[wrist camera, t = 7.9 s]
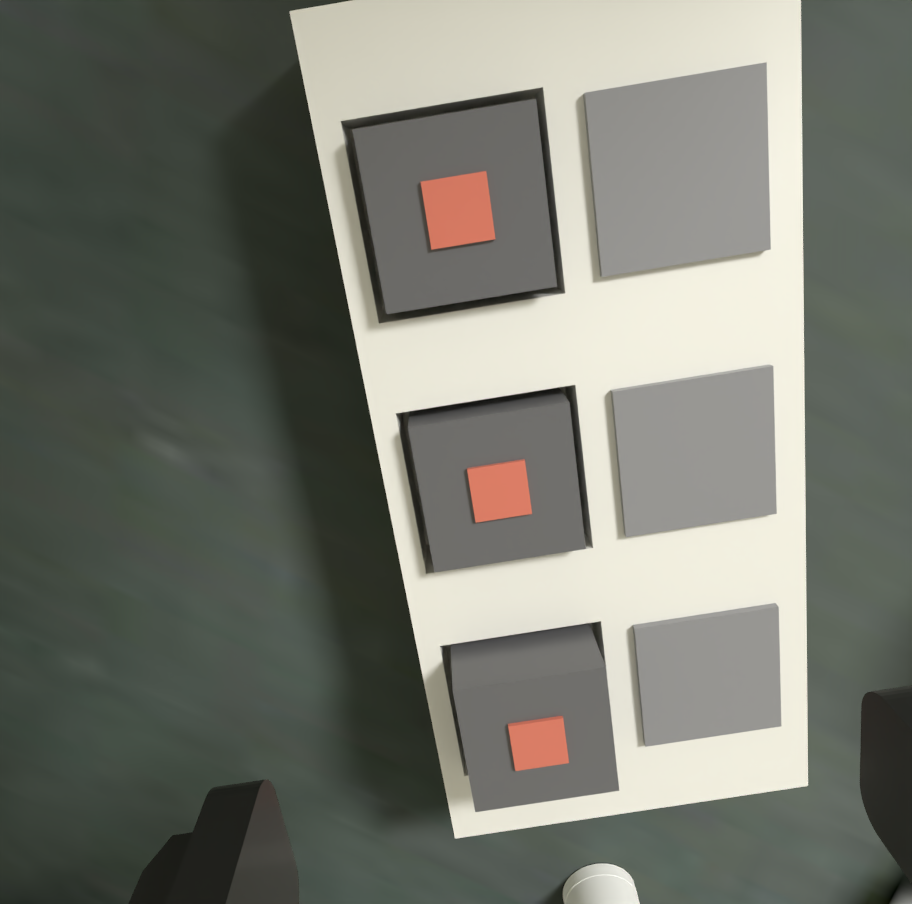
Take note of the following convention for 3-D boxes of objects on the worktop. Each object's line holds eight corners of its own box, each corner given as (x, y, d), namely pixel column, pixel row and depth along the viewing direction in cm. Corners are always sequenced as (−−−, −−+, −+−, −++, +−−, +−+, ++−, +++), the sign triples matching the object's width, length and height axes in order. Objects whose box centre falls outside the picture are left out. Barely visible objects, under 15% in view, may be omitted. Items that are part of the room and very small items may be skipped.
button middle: (410, 405, 23) (407, 429, 20) (555, 382, 22) (570, 403, 20) (434, 537, 24) (434, 574, 22) (571, 515, 24) (586, 550, 21)
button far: (450, 643, 24) (452, 693, 21) (589, 622, 24) (606, 669, 21) (471, 756, 25) (475, 815, 23) (602, 737, 25) (620, 793, 23)
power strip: (301, -19, 21) (271, -72, 17) (731, -93, 21) (804, -164, 17) (451, 756, 29) (455, 844, 25) (758, 709, 29) (811, 791, 25)
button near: (360, 137, 20) (351, 128, 18) (524, 110, 20) (536, 97, 18) (391, 302, 21) (386, 315, 19) (543, 277, 21) (557, 287, 19)
